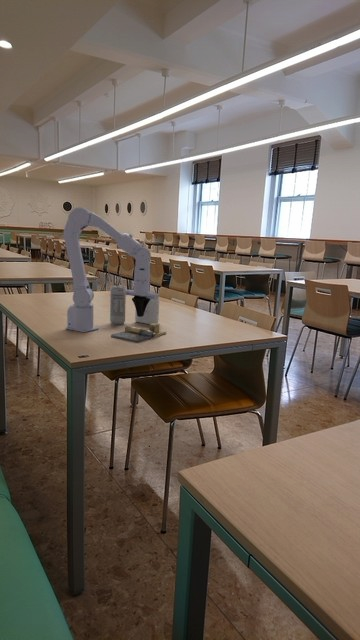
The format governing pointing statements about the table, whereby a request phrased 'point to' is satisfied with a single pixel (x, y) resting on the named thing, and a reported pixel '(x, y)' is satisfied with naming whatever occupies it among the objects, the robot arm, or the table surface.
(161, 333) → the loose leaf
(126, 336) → the pin leaf
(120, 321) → the energy drink can
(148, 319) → the photo printer
